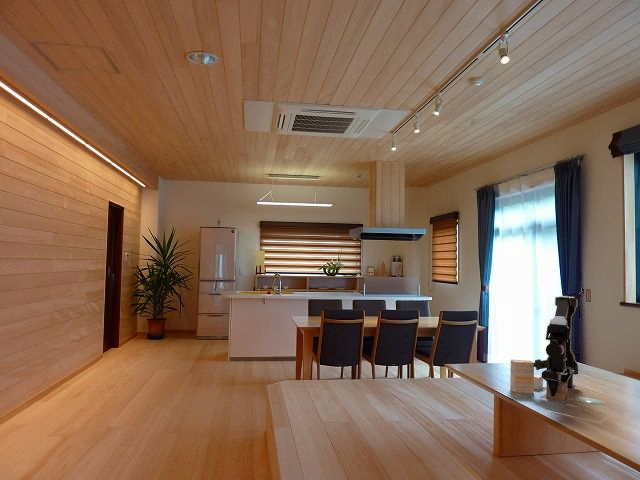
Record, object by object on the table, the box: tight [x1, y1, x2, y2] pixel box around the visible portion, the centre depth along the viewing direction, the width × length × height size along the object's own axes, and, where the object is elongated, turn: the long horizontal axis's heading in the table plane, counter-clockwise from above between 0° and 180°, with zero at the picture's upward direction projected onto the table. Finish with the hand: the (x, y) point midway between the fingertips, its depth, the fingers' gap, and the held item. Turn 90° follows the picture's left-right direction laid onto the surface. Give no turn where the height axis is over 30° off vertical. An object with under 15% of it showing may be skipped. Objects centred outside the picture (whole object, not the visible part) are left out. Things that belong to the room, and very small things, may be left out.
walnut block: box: [545, 382, 568, 401], centre depth 193 cm, size 6×6×6 cm
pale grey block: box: [534, 373, 544, 391], centre depth 208 cm, size 5×5×5 cm
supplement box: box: [509, 359, 535, 395], centre depth 201 cm, size 8×5×13 cm, turn 84°
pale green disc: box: [575, 397, 606, 406], centre depth 190 cm, size 10×10×1 cm
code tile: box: [539, 393, 575, 404], centre depth 193 cm, size 10×10×1 cm
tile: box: [534, 386, 546, 392], centre depth 208 cm, size 9×9×1 cm
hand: (556, 394), depth 193 cm, fingers open, 9 cm apart
